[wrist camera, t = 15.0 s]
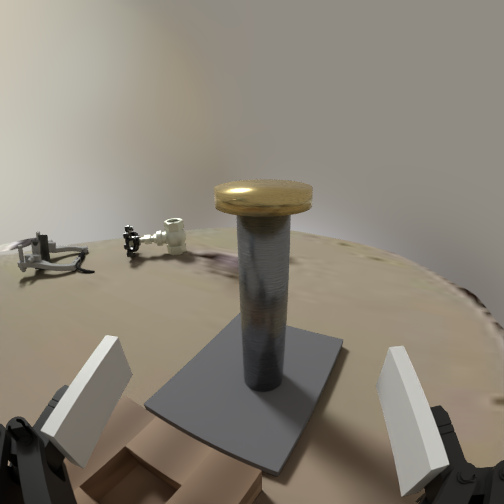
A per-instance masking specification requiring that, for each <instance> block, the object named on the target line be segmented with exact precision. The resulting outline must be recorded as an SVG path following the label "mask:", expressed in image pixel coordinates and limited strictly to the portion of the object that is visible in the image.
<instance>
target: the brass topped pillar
mask: <svg viewBox="0 0 504 504" xmlns="http://www.w3.org/2000/svg"><path fill="white" fill-rule="evenodd" d="M214 197H215V208H216V209H217V210H219V211H222V212H224V213H229V214H234V215H237V240H238V265H239V289H240V311H241V332H242V352H243V371H244V382H245V384H246V385H247V386H248V387H249V388H251V389H252V390H255V391H259V392H268V391H272V390H274V389H276V388H277V387H279V386H280V385H281V383H282V380H283V368H284V354H285V338H286V321H287V302H288V280H289V253H290V215H291V214H297V213H301V212H305V211H307V210H309V209H310V208H311V207H312V186H310V185H308V184H305V183H300V182H295V181H286V180H243V181H235V182H228V183H224V184H220V185H218V186H215V187H214Z"/></svg>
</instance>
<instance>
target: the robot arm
mask: <svg viewBox="0 0 504 504" xmlns="http://www.w3.org/2000/svg"><path fill="white" fill-rule="evenodd" d="M132 375H133V374H132V372H131V370H130V367H129V365H128V362H127V359H126V357H125V354H124V352H123V349H122V346H121V343H120V341H119V338H118V337H115V336H109V335H106V336H105V338H104V339H103V340H102V342H101V343H100V344H99V346H98V347H97V348H96V350H95V351H94V352H93V354H92V355H91V357H90V358H89V359H88V361H87V362H86V363H85V365H84V366H83V368H82V369H81V370H80V372H79V373H78V375H77V376H76V378H75V379H74V380H73V382H72V383H71V385H70V386H67V385H64V386H63V387H62V388H60V389H59V390H58V391H57V392H56V393H55V395H54V396H53V398H52V400H51V401H50V402H49V403H48V406H46V408H45V409H44V411H43V412H42V414H41V415H40V417H39V418H38V420H37V421H36V423H35V425H34V426H33V427H31V426H30V424H29V423H28V422H27V421H26V420H25V419H24V418H22V417H14V418H12V419H11V420H10V421H9V422H8V423H7V425H6V428H5V427H4V426H3V425H2V424H0V504H77V501H76V498H75V495H74V492H73V489H72V486H71V482H70V479H69V475H68V472H67V468H66V465H65V463H64V459H65V457H66V458H67V459H68V460H69V461H70V462H71V463H72V464H74V465H76V466H78V467H81V468H83V469H84V468H85V466H86V464H87V462H88V460H89V458H90V456H91V454H92V452H93V450H94V448H95V446H96V444H97V442H98V440H99V438H100V436H101V434H102V432H103V430H104V428H105V426H106V424H107V422H108V420H109V418H110V416H111V414H112V412H113V410H114V408H115V406H116V405H117V403H118V401H119V399H120V397H121V395H122V393H123V391H124V389H125V388H126V386H127V384H128V382H129V380H130V378H131V377H132ZM376 388H377V392H378V395H379V399H380V403H381V406H382V410H383V414H384V418H385V422H386V426H387V430H388V434H389V438H390V442H391V447H392V451H393V456H394V460H395V465H396V470H397V475H398V480H399V485H400V491H401V497H403V496H407V495H411V494H415V493H418V492H419V491H421V490H422V489H423V488H424V489H425V494H423V495H422V496H421V497H420V498H418V500H417V501H416V502H417V503H418V502H419V501H420V502H419V504H504V460H503V461H501V462H499V463H498V464H497V465H496V466H494V467H485V468H476V467H475V466H474V465H472V464H471V463H468V462H467V461H466V460H465V458H464V455H463V452H462V449H461V446H460V444H459V441H458V438H457V436H456V433H455V432H454V428H453V425H451V420H450V418H449V415H448V413H447V412H446V411H445V410H444V409H443V408H442V407H441V406H440V405H439V406H435V407H429V404H428V401H427V399H426V396H425V394H424V392H423V389H422V387H421V384H420V382H419V380H418V377H417V375H416V373H415V370H414V368H413V366H412V363H411V361H410V359H409V357H408V354H407V352H406V350H405V348H404V346H396V347H389V349H388V353H387V356H386V359H385V362H384V365H383V367H382V370H381V373H380V376H379V379H378V381H377V384H376ZM8 460H9V461H10V465H9V466H8Z"/></svg>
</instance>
